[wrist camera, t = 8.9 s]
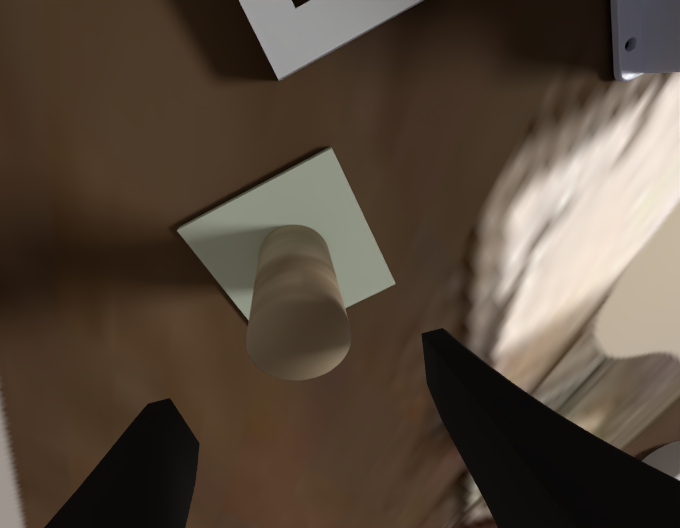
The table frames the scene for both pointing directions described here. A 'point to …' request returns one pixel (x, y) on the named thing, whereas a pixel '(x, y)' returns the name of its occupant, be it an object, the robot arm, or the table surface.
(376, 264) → the mat
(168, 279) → the table surface
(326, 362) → the plug
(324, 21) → the gray square frame
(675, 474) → the computer
